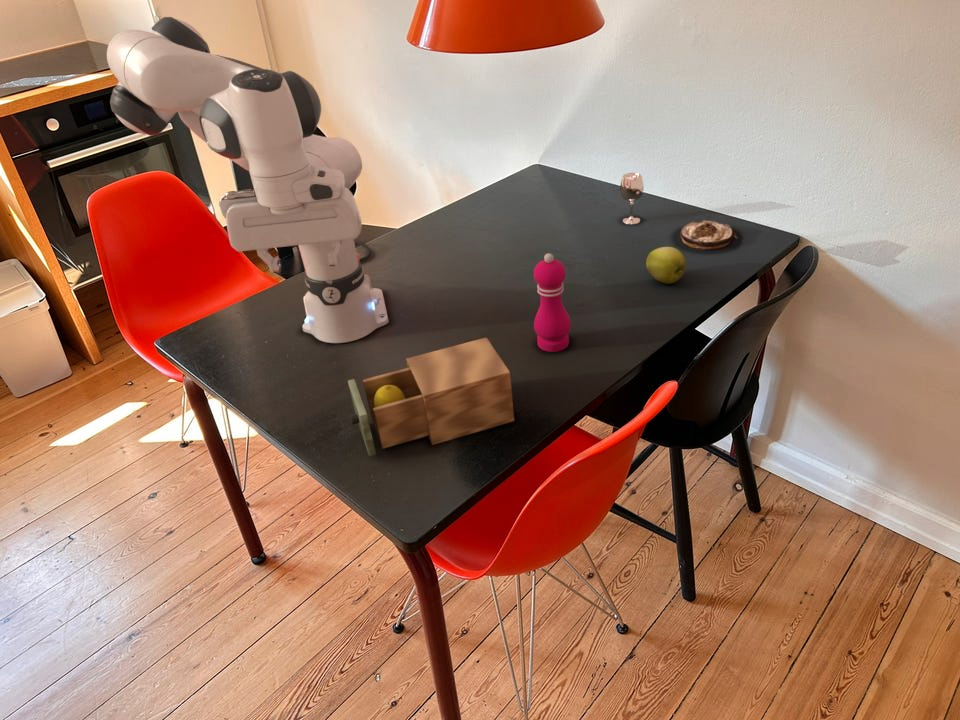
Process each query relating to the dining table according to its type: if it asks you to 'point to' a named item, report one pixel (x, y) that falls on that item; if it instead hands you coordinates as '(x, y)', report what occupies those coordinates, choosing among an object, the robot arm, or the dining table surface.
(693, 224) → the mottled flat disc
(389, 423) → the drawer
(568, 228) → the dining table surface
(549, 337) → the pepper mill
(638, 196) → the wineglass
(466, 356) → the cabinet
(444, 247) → the dining table surface
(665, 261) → the apple
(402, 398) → the lemon
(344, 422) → the dining table surface
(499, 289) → the dining table surface
